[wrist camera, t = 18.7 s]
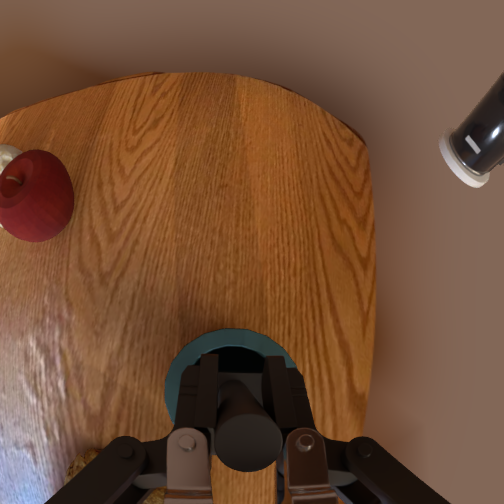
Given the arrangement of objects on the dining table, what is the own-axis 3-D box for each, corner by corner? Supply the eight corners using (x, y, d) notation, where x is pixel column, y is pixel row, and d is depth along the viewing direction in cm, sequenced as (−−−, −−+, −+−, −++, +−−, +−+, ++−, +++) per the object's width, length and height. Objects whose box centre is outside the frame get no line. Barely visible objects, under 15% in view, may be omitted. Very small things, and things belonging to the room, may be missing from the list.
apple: (84, 174, 32) (53, 122, 22) (92, 240, 29) (50, 195, 20) (26, 200, 30) (-13, 159, 20) (28, 266, 27) (-23, 234, 18)
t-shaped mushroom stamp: (264, 371, 20) (324, 393, 8) (263, 410, 19) (319, 479, 7) (202, 369, 19) (171, 392, 7) (201, 409, 18) (173, 482, 6)
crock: (275, 337, 28) (302, 329, 18) (274, 422, 25) (300, 454, 15) (186, 334, 27) (166, 324, 18) (184, 420, 24) (165, 452, 15)
